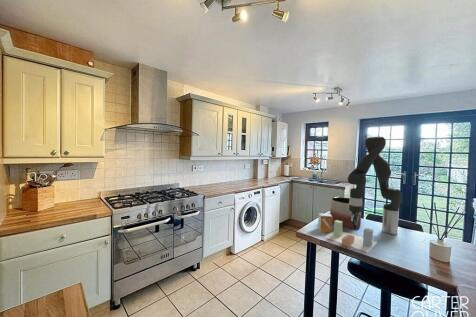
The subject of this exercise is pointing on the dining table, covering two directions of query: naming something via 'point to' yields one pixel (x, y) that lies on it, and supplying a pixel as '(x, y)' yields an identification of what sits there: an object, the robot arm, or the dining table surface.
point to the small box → (325, 222)
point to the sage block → (338, 228)
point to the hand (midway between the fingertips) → (354, 229)
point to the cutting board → (357, 241)
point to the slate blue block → (367, 237)
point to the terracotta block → (348, 240)
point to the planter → (342, 212)
